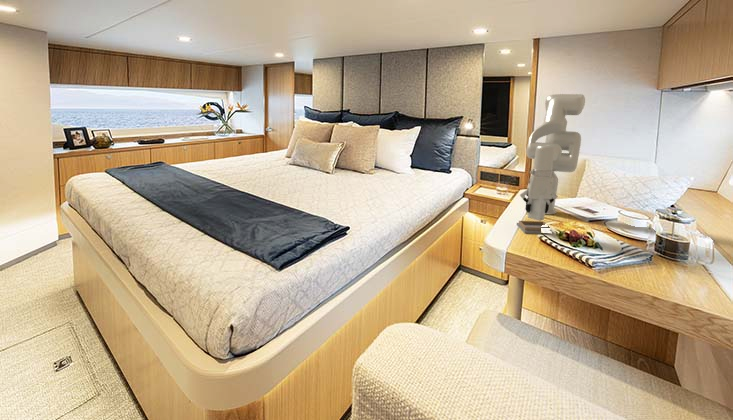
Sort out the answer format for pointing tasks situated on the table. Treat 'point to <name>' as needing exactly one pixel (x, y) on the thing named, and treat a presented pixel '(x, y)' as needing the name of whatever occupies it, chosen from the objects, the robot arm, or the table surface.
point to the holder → (531, 226)
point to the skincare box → (537, 209)
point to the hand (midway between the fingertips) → (536, 211)
